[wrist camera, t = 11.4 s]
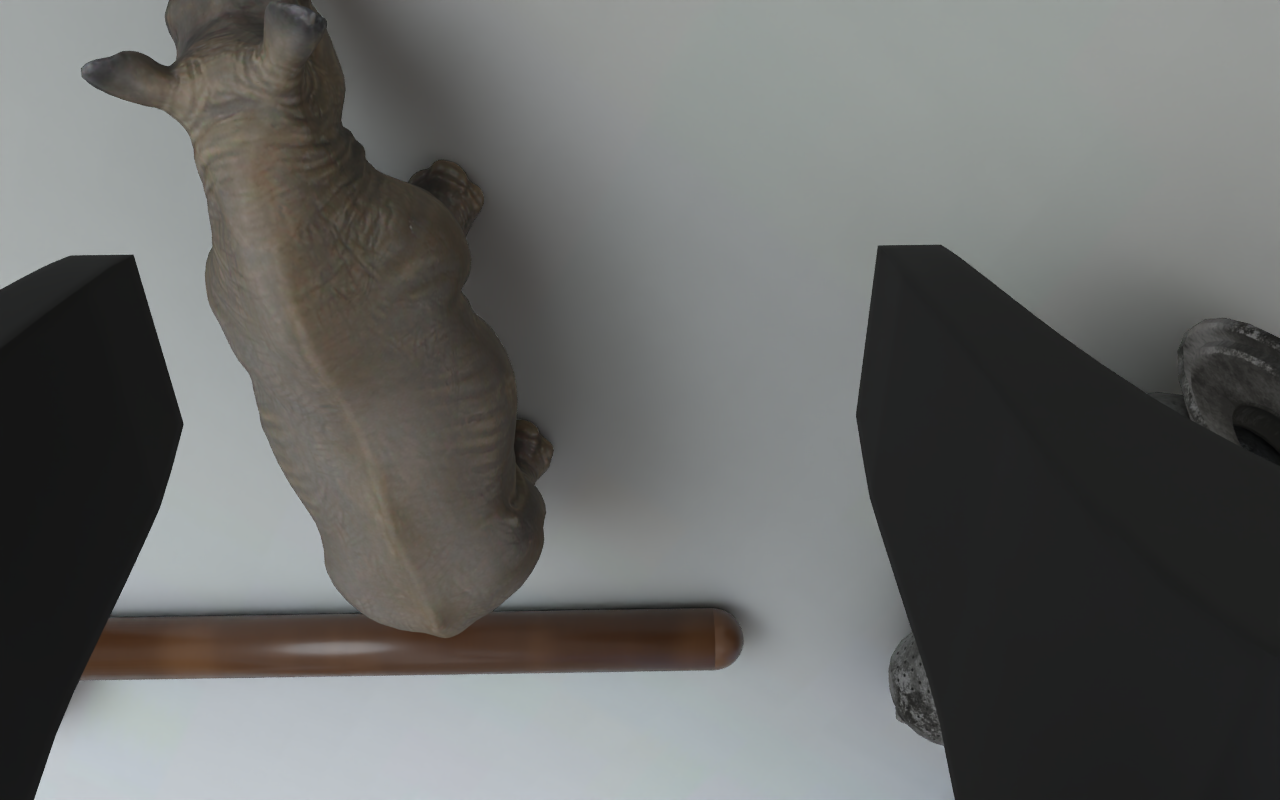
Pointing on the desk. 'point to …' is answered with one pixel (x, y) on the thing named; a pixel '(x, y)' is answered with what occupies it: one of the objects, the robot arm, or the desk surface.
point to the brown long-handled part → (414, 645)
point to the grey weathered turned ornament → (1213, 397)
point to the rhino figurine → (351, 318)
